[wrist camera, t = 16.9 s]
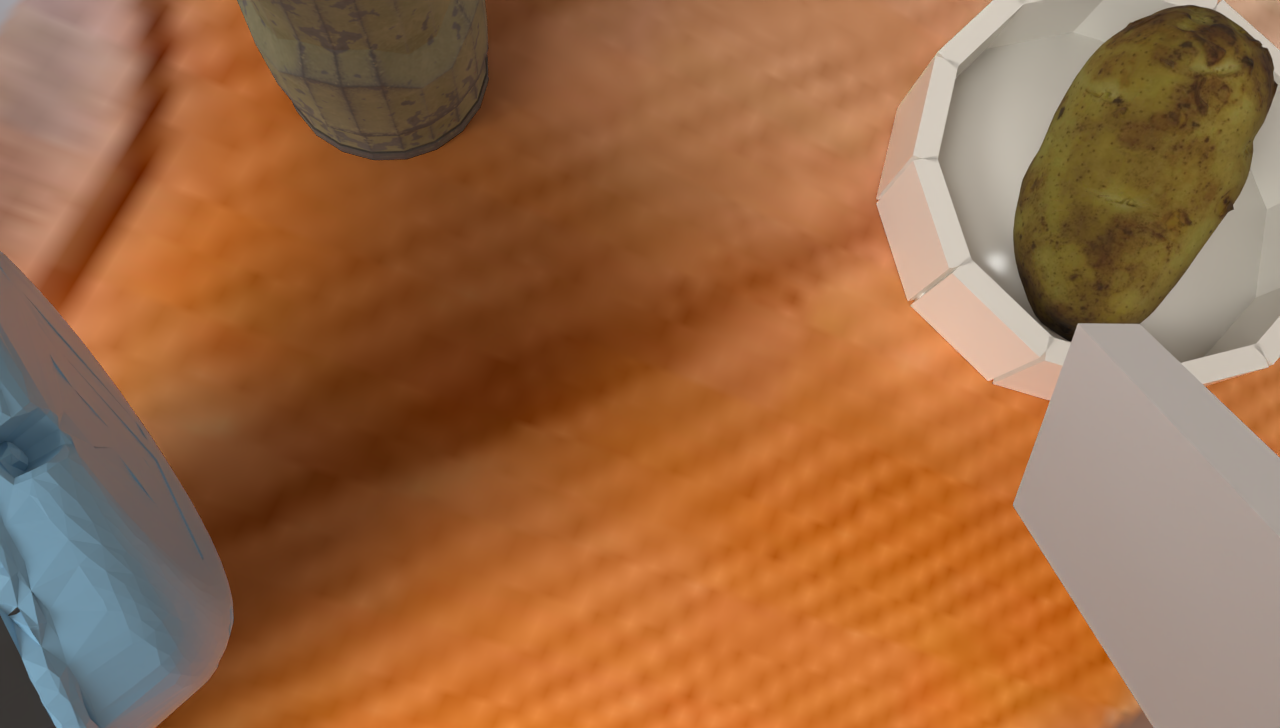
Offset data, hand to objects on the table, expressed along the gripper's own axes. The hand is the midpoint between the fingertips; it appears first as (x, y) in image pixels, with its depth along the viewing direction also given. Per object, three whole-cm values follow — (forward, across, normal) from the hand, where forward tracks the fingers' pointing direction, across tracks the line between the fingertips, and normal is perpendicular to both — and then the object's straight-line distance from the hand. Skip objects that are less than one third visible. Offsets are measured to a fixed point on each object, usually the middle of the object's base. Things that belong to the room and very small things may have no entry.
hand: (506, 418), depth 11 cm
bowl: (+29, +25, -10) cm, 40 cm away
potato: (+28, +24, -9) cm, 39 cm away
